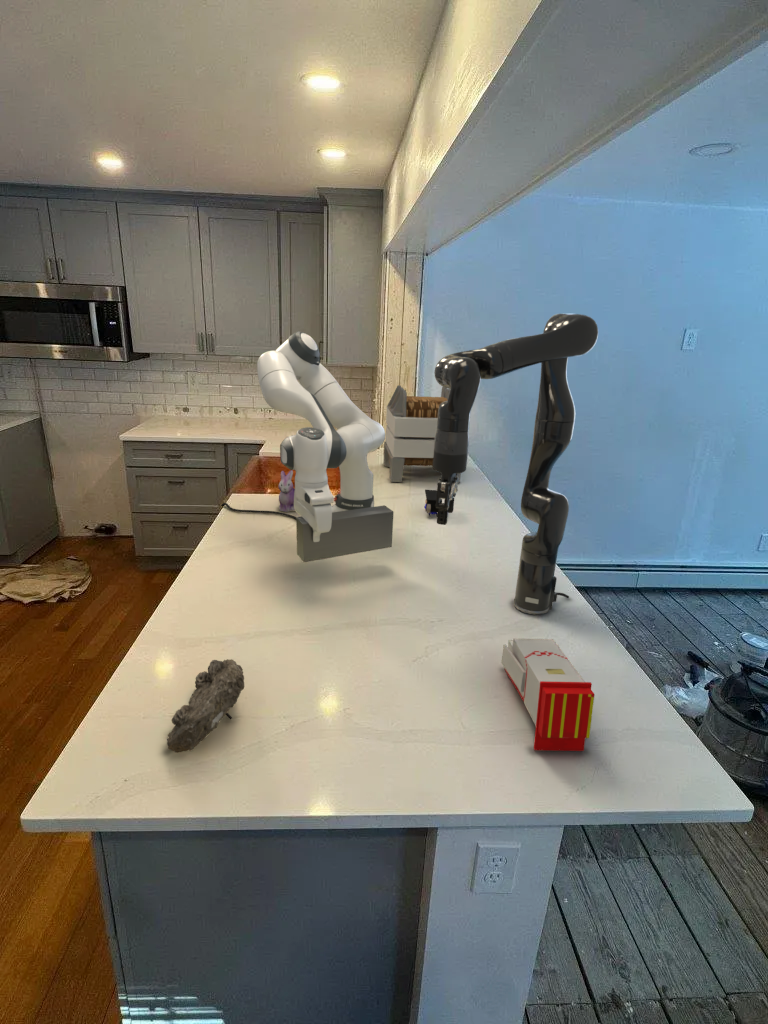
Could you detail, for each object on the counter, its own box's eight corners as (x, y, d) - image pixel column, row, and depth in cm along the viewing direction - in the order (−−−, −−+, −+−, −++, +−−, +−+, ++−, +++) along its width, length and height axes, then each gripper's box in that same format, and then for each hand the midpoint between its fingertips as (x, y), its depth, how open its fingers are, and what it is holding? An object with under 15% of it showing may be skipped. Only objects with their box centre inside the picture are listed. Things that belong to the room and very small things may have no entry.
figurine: (281, 513, 213) (281, 475, 208) (273, 505, 222) (272, 468, 217) (305, 510, 217) (305, 473, 212) (296, 502, 226) (296, 466, 221)
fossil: (192, 660, 117) (244, 628, 112) (224, 691, 120) (276, 661, 115) (142, 746, 98) (202, 712, 93) (182, 779, 101) (242, 748, 96)
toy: (549, 621, 128) (604, 690, 99) (544, 676, 131) (595, 758, 101) (496, 620, 128) (535, 688, 98) (492, 675, 130) (528, 757, 101)
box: (303, 562, 156) (302, 524, 152) (296, 554, 161) (296, 517, 157) (392, 547, 168) (393, 511, 164) (383, 540, 173) (384, 505, 169)
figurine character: (442, 522, 216) (438, 505, 229) (444, 504, 213) (440, 488, 226) (425, 521, 216) (422, 504, 229) (426, 504, 212) (423, 487, 226)
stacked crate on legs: (382, 463, 289) (386, 382, 275) (445, 464, 293) (451, 384, 279) (390, 482, 257) (394, 392, 243) (460, 483, 261) (468, 394, 247)
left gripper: (287, 479, 160) (288, 525, 165) (313, 501, 143) (313, 551, 148) (309, 477, 163) (309, 522, 168) (336, 499, 146) (335, 548, 151)
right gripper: (463, 458, 118) (456, 530, 123) (472, 444, 131) (465, 510, 136) (427, 454, 120) (422, 526, 125) (440, 441, 133) (435, 506, 138)
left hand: (311, 536), depth 158 cm, fingers closed on box, 6 cm apart
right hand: (445, 517), depth 131 cm, fingers open, 8 cm apart
